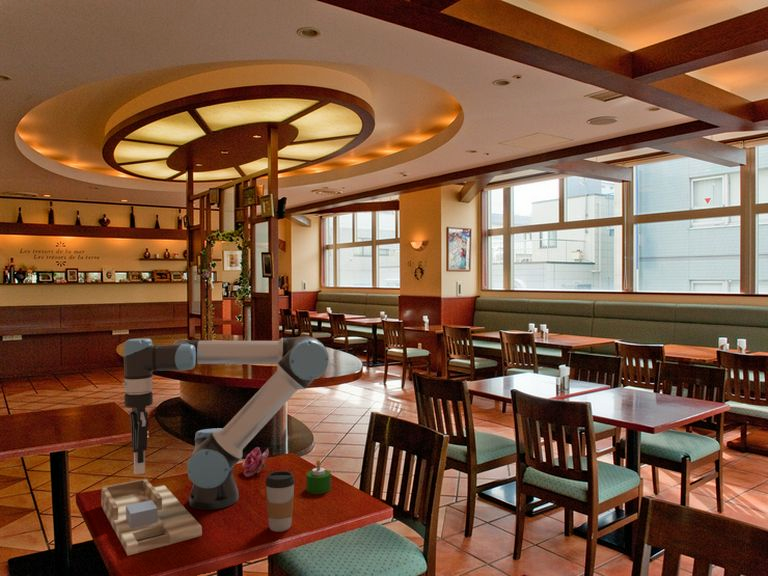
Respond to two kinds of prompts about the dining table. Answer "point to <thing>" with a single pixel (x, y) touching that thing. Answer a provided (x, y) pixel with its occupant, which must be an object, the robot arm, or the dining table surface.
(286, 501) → the coffee cup
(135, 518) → the slate block
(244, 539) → the dining table surface
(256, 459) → the flower
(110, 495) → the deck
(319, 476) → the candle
